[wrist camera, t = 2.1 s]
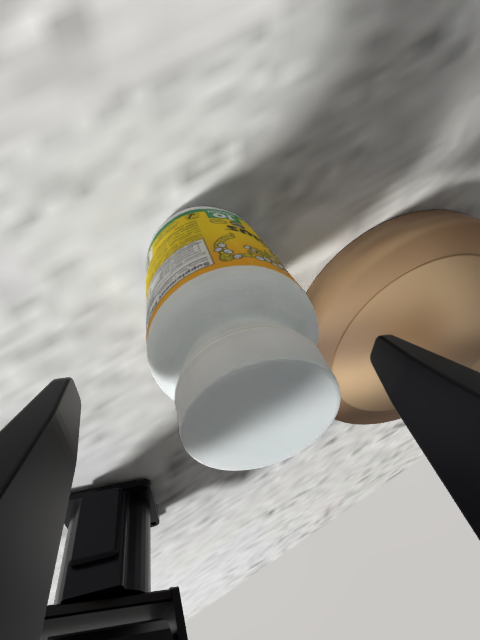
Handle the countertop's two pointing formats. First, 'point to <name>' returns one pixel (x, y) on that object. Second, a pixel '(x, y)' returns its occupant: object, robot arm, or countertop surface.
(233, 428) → the supplement bottle
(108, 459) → the countertop surface
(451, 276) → the plate
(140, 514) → the robot arm
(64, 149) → the countertop surface
